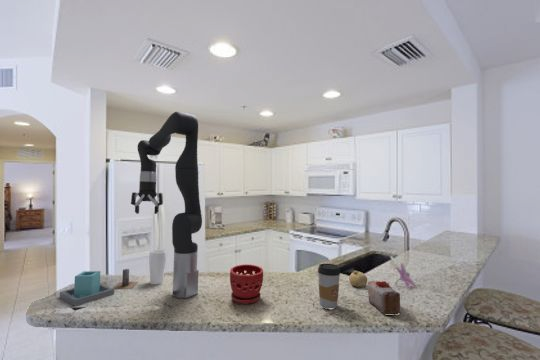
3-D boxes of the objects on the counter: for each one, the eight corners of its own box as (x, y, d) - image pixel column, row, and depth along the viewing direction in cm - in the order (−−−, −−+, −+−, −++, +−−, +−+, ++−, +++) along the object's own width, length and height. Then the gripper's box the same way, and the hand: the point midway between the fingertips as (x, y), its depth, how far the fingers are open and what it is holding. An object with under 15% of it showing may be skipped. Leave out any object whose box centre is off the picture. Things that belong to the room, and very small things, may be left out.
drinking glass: (158, 289, 112) (160, 253, 113) (144, 287, 114) (146, 252, 114) (167, 283, 119) (169, 250, 120) (154, 282, 120) (155, 249, 121)
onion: (352, 281, 128) (352, 266, 128) (369, 285, 123) (369, 270, 123) (346, 286, 121) (346, 270, 121) (364, 290, 117) (364, 274, 117)
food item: (364, 300, 106) (365, 275, 106) (383, 300, 107) (383, 275, 107) (383, 317, 92) (383, 288, 93) (404, 316, 93) (404, 288, 94)
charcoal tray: (113, 298, 102) (114, 288, 102) (75, 310, 91) (75, 300, 91) (97, 290, 109) (97, 282, 109) (59, 301, 98) (59, 291, 98)
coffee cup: (326, 313, 94) (327, 270, 95) (312, 303, 101) (313, 264, 102) (344, 308, 98) (345, 267, 98) (329, 300, 105) (330, 262, 106)
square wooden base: (138, 285, 116) (139, 266, 116) (131, 292, 108) (132, 272, 108) (119, 285, 115) (119, 267, 115) (110, 293, 107) (111, 273, 107)
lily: (395, 293, 117) (407, 276, 115) (380, 274, 128) (391, 259, 125) (415, 298, 121) (427, 282, 118) (399, 280, 132) (409, 265, 129)
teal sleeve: (99, 294, 104) (100, 271, 104) (89, 302, 96) (90, 277, 97) (82, 294, 103) (83, 271, 103) (71, 302, 95) (72, 277, 96)
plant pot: (222, 299, 104) (223, 268, 104) (247, 290, 113) (248, 262, 114) (244, 310, 95) (245, 276, 95) (269, 299, 104) (270, 269, 105)
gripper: (129, 180, 127) (128, 214, 126) (161, 181, 129) (159, 214, 128) (135, 180, 134) (134, 212, 133) (164, 181, 136) (163, 213, 135)
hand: (146, 213), depth 131 cm, fingers open, 8 cm apart
